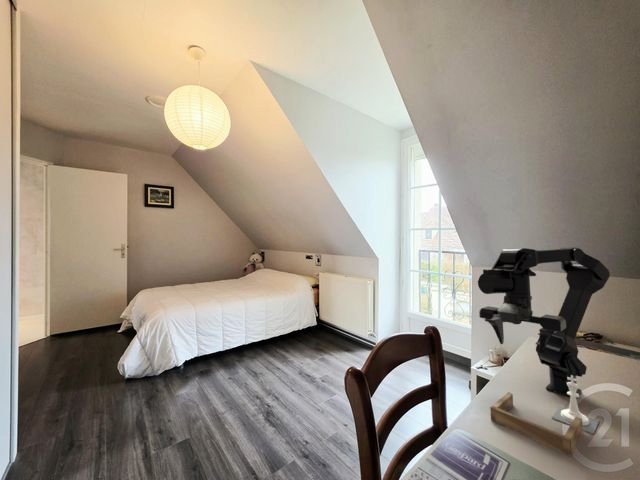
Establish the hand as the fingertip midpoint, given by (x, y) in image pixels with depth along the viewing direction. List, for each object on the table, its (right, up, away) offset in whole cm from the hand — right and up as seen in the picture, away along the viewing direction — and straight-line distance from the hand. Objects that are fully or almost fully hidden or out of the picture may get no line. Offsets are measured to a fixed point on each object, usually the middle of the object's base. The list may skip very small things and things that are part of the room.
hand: (520, 348), depth 73 cm
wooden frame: (-7, -13, -13) cm, 19 cm away
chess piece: (+4, -12, -11) cm, 17 cm away
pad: (+4, -12, -11) cm, 17 cm away
